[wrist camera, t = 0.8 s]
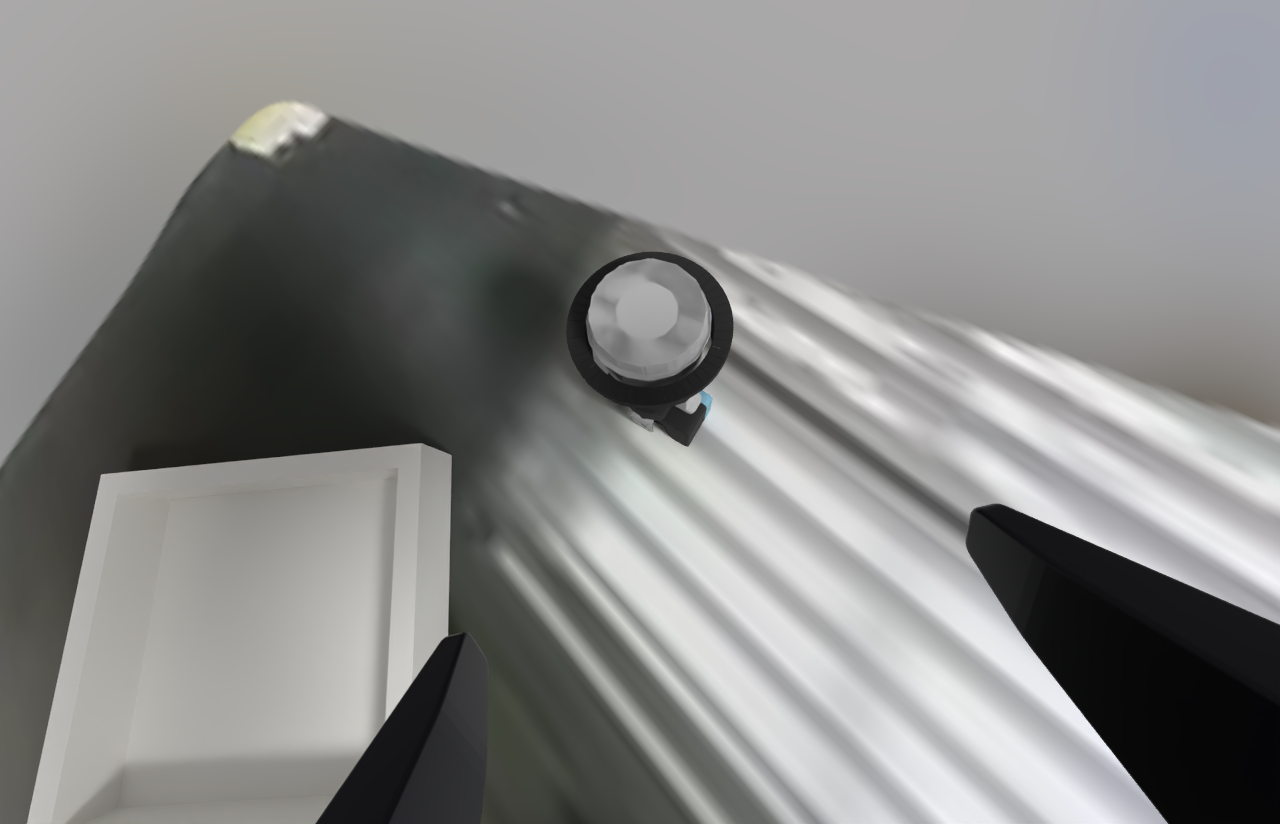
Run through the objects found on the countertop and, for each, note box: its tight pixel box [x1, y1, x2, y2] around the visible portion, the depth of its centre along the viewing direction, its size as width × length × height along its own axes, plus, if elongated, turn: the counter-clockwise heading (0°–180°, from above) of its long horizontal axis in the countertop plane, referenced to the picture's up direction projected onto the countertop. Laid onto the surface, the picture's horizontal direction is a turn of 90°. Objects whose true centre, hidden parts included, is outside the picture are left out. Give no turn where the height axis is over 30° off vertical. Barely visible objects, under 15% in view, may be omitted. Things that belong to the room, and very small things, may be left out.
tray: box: [27, 443, 452, 824], centre depth 21 cm, size 15×15×3 cm
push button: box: [567, 252, 733, 446], centre depth 20 cm, size 7×5×10 cm
